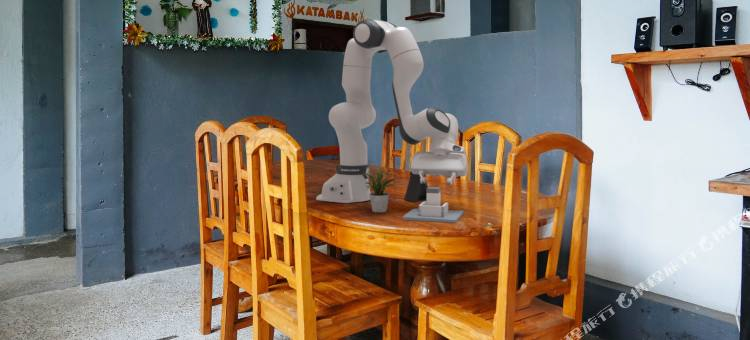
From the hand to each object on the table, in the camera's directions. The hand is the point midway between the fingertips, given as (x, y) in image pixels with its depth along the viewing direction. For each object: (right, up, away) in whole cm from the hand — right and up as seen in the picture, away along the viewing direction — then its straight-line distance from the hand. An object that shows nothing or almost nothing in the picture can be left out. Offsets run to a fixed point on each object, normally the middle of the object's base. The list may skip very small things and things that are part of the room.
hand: (435, 183), depth 197 cm
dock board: (-1, -11, -3) cm, 12 cm away
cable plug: (-1, -10, -3) cm, 11 cm away
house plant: (-20, -11, +7) cm, 24 cm away
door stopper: (-4, -8, +29) cm, 30 cm away
